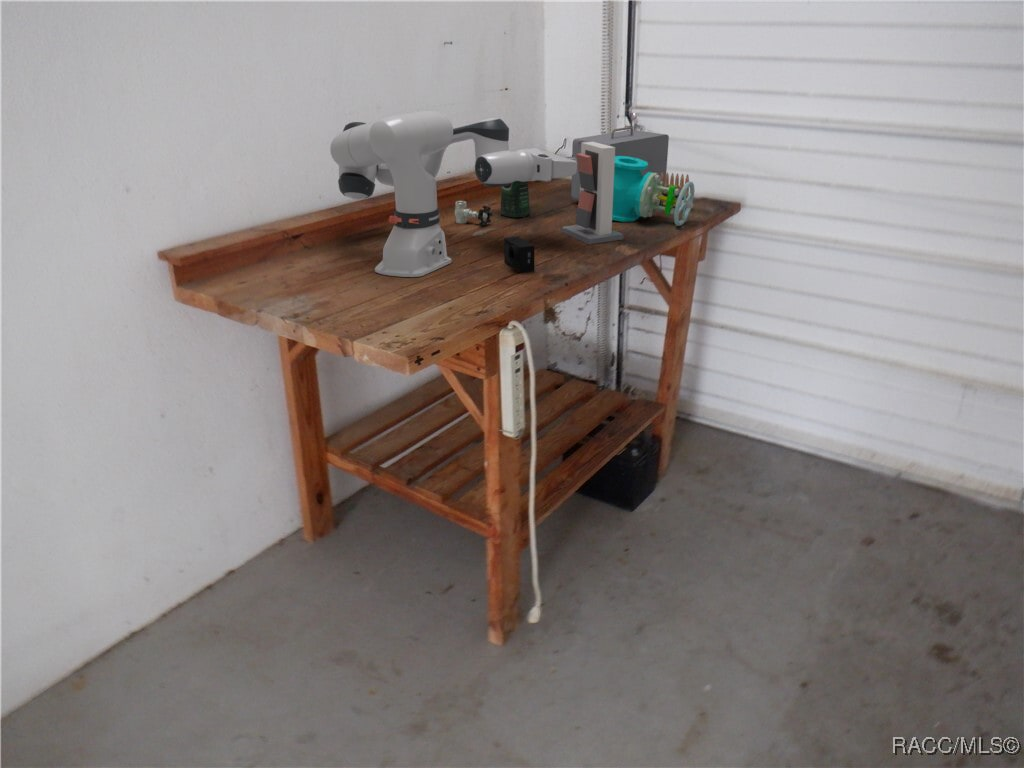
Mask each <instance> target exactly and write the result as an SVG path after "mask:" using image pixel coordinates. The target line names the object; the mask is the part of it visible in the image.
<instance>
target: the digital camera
mask: <svg viewBox="0 0 1024 768" xmlns="http://www.w3.org/2000/svg"><path fill="white" fill-rule="evenodd" d="M503 245H504V246H503V250H504V251H503V252H504V253H503V257H504V258H503V259H504V260H503V261H504V263H505V265H507V266H509V267H511V268H512V269H513V270H515V271H516V272H518V273H519V274H523V273H529V272H535V244H532V243H530V242H529V241H527V240H525V239H523V238H521V237H520V236H510V237H504V238H503Z"/></svg>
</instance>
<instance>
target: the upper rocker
mask: <svg viewBox="0 0 1024 768" xmlns="http://www.w3.org/2000/svg"><path fill="white" fill-rule="evenodd" d="M577 161H578V169H579V177H580V185H581V188H583V189H586V190H589V191H594V190H595V187H594V178H593V170H592V161H591V156H588V155H585V154H581V153H579V154H577Z"/></svg>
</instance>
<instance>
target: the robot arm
mask: <svg viewBox="0 0 1024 768" xmlns="http://www.w3.org/2000/svg"><path fill="white" fill-rule="evenodd" d="M509 138H510V128H509V126H508V125H507V124H506V123H505V122H504V121H503V120H502V119H501V118H497V117H487V118H484V119H482V120H479V121H477V122H474V123H472V124H471V123H470V124H468V125H463V126H458V127H455V128H454V127H453V123H452V121H451V119H450V117H449V116H448V115H447V114H446V113H444V112H442V111H439V110H438V111H436V110H431V109H429V110H428V109H425V110H424V109H423V110H418V111H417V110H416V111H412V112H404V113H397V114H391V115H386V116H385V117H383V118H380V119H379V120H376V121H372V122H368V123H366V122H364V121H363V122H362V121H352V122H349V123H347V124H346V125H345V126H344V127H343V130H342V132H341V133H339V134H337V135H336V136H335V137H334V138H333V139H332V141H331V143H330V155H331V158H332V159H333V161H334V162H335V163H336V165H338V180H337V182H338V183H337V184H338V189H339V191H340V193H341V194H342V195H343V196H345V197H347V198H349V199H352V200H364V199H365V200H366V199H369V198H370V197H372V196H373V194H374V192H375V189H376V183H375V182H376V181H378V182H379V183H380V184H382V185H384V186H391V187H393V190H394V199H395V209H394V214H393V215H389V217H388V222H389V224H393V227H392V230H391V232H390V233H389V235H388V238H387V240H386V241H385V244H384V245H383V248H382V260H381V261H380V262H379V263H378V264H377V265H376V266H375V268H374V272H375V273H378V274H380V275H384V276H391V277H401V278H402V277H403V278H418V277H422V276H426V275H428V274H430V273H432V272H434V271H436V270H438V269H440V268H443V267H445V266H448V265H449V264H452V262H453V261H452V258H451V257H450V256H448V253H447V244H446V234H445V232H444V230H443V228H442V227H441V225H440V223H439V222H440V220H441V219H440V215H441V214H440V208H439V207H438V198H437V196H438V195H437V193H438V192H437V180H436V179H435V178H437V175H438V173H439V172H440V168H441V164H442V161H443V157H444V154H445V152H446V150H447V148H448V147H449V146H450V145H452V144H455V143H460V142H464V141H468V140H472V141H473V144H474V153H475V155H474V156H475V164H474V172H475V176H476V178H477V180H478V181H479V182H480V183H481V184H482V185H484V187H486V188H497V187H499V188H500V187H501V186H506V185H508V184H509V183H512V182H514V181H521V182H525V181H528V182H534V181H540V182H551V181H552V179H561V178H566V177H572V175H574V174H576V173H577V159H576V158H574V157H572V155H571V156H562V155H559V154H555V153H552V152H549V151H546V150H543V149H542V150H541V149H539V148H537V147H530V148H522V149H521V148H520V149H517V150H515V151H512V150H510V149H509V147H510V146H509V140H510V139H509Z"/></svg>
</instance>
